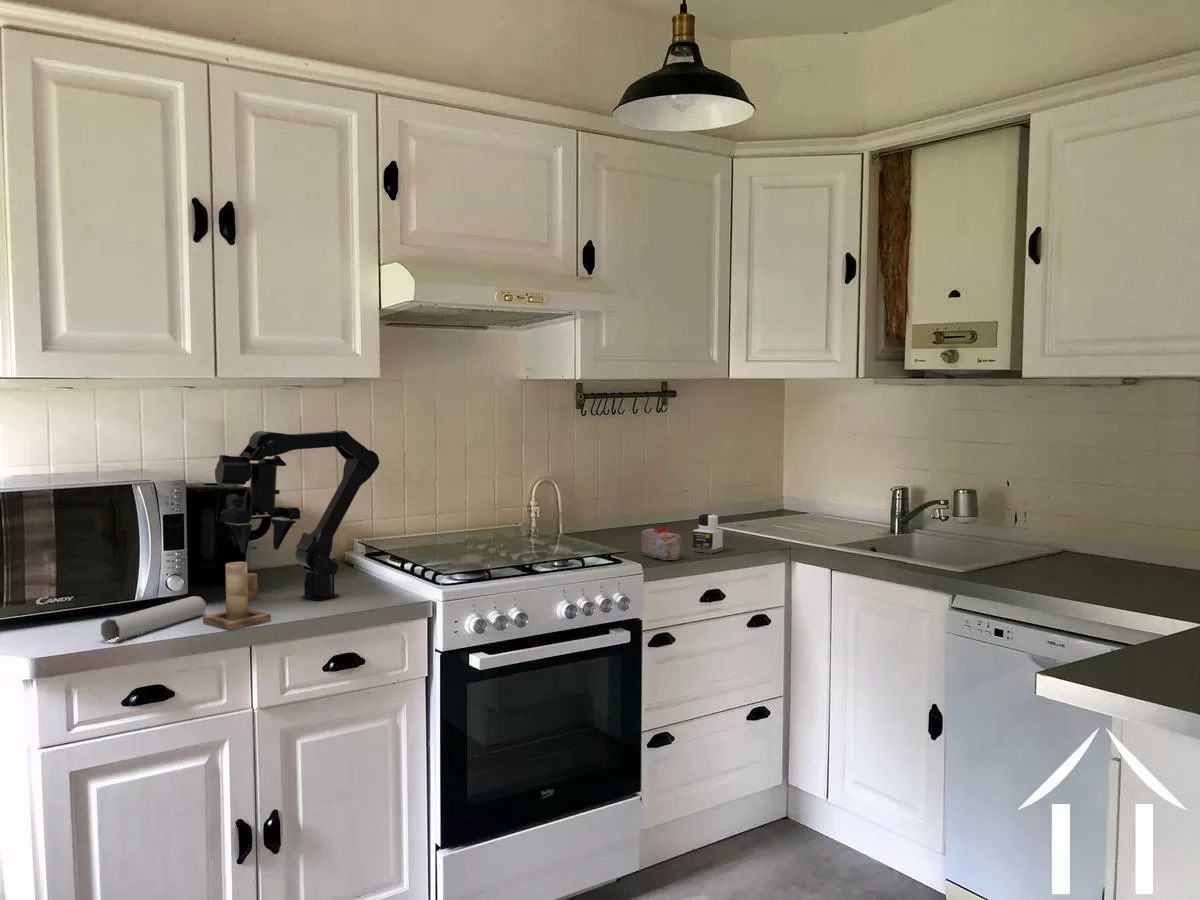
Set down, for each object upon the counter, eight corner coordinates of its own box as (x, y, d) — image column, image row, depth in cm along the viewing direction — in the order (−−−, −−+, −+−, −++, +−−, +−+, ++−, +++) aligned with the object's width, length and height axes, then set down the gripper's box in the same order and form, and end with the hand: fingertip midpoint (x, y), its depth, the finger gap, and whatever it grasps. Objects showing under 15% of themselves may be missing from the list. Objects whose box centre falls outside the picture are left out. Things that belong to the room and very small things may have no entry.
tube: (189, 596, 210) (97, 621, 186) (207, 590, 208) (116, 615, 185) (195, 618, 210) (104, 646, 186) (213, 613, 208) (123, 641, 184)
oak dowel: (232, 619, 204) (231, 561, 203) (251, 619, 204) (250, 562, 203) (222, 624, 200) (221, 565, 199) (242, 625, 200) (241, 566, 199)
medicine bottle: (692, 552, 293) (693, 514, 292) (703, 548, 299) (703, 512, 298) (712, 554, 289) (713, 516, 288) (722, 551, 295) (723, 514, 294)
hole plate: (244, 614, 209) (243, 607, 209) (270, 621, 203) (270, 614, 203) (203, 623, 201) (203, 616, 201) (229, 630, 195) (229, 623, 195)
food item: (684, 560, 279) (685, 528, 278) (664, 563, 274) (664, 530, 274) (656, 553, 290) (657, 522, 289) (636, 556, 286) (636, 524, 285)
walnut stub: (250, 596, 226) (250, 572, 226) (261, 599, 224) (260, 574, 223) (234, 599, 223) (233, 575, 222) (245, 602, 220) (244, 577, 220)
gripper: (271, 481, 227) (268, 543, 228) (205, 483, 211) (202, 550, 211) (303, 484, 222) (300, 549, 222) (238, 487, 205) (235, 556, 206)
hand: (260, 551), depth 216 cm, fingers open, 9 cm apart
